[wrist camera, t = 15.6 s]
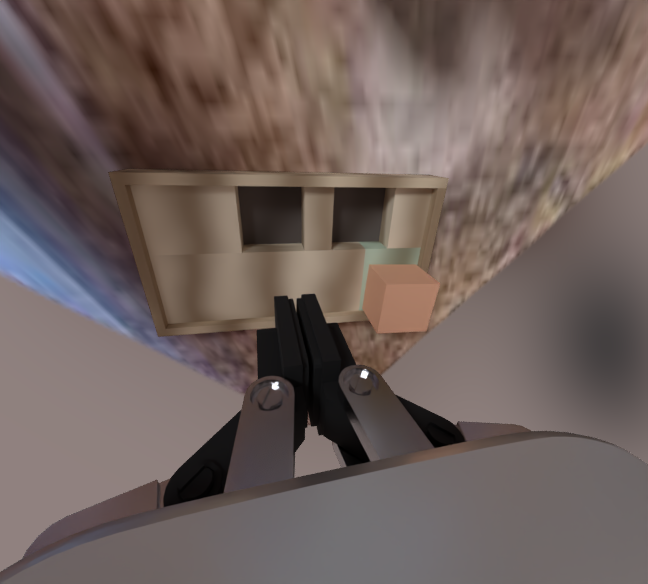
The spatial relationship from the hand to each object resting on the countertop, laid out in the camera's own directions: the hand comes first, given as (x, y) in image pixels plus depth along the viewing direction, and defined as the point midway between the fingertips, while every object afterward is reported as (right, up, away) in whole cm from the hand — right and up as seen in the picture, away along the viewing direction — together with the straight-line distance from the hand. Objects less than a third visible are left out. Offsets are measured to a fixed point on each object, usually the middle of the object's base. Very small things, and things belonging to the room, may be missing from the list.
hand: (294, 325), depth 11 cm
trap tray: (-2, +6, +16) cm, 17 cm away
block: (+8, +2, +17) cm, 19 cm away
